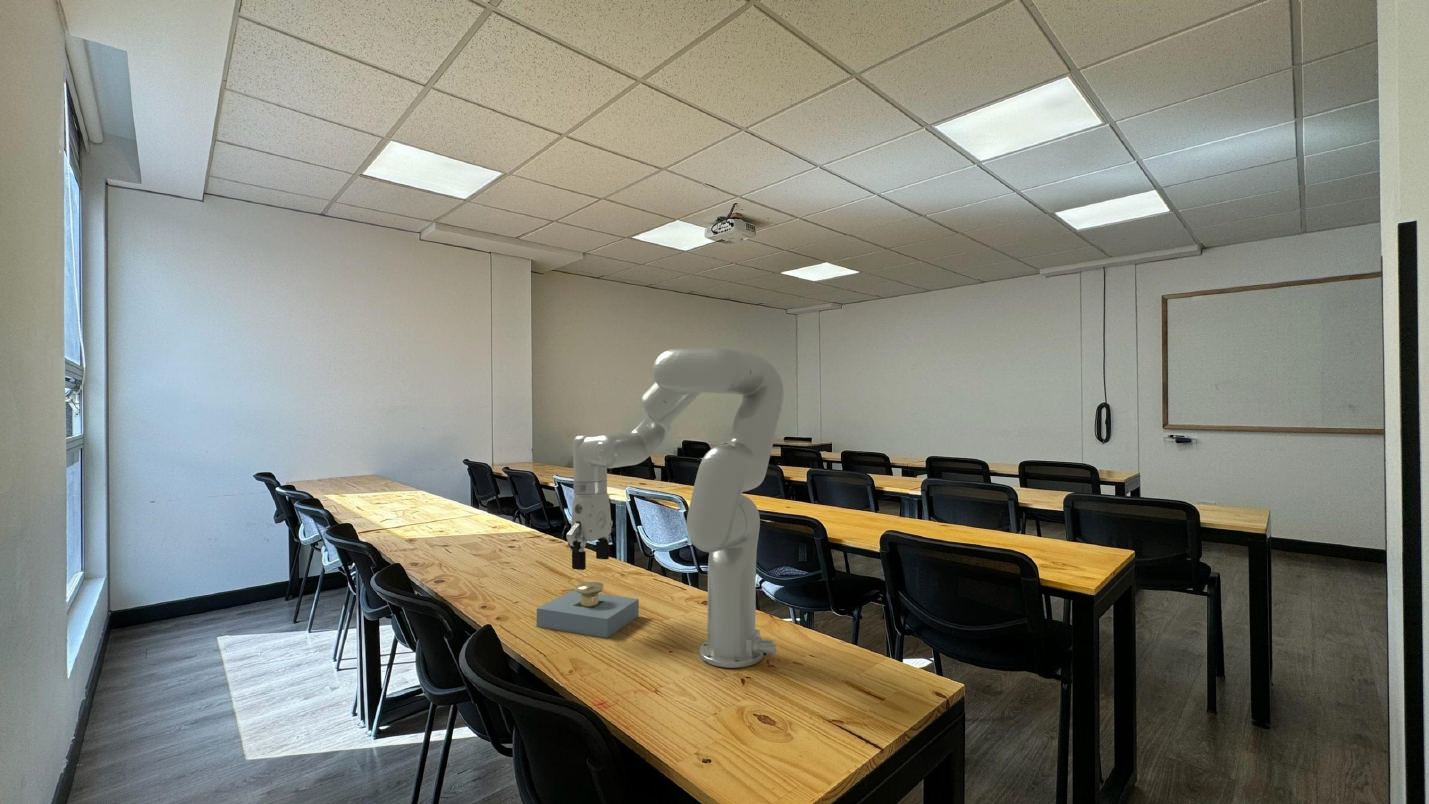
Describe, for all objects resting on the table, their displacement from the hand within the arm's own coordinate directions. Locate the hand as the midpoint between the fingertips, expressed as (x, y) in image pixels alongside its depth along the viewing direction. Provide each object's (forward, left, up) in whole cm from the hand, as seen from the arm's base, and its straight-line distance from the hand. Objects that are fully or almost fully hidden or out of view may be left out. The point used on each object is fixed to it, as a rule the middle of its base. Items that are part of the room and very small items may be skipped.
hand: (591, 563), depth 131 cm
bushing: (0, 0, -13) cm, 13 cm away
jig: (+1, 0, -13) cm, 13 cm away
